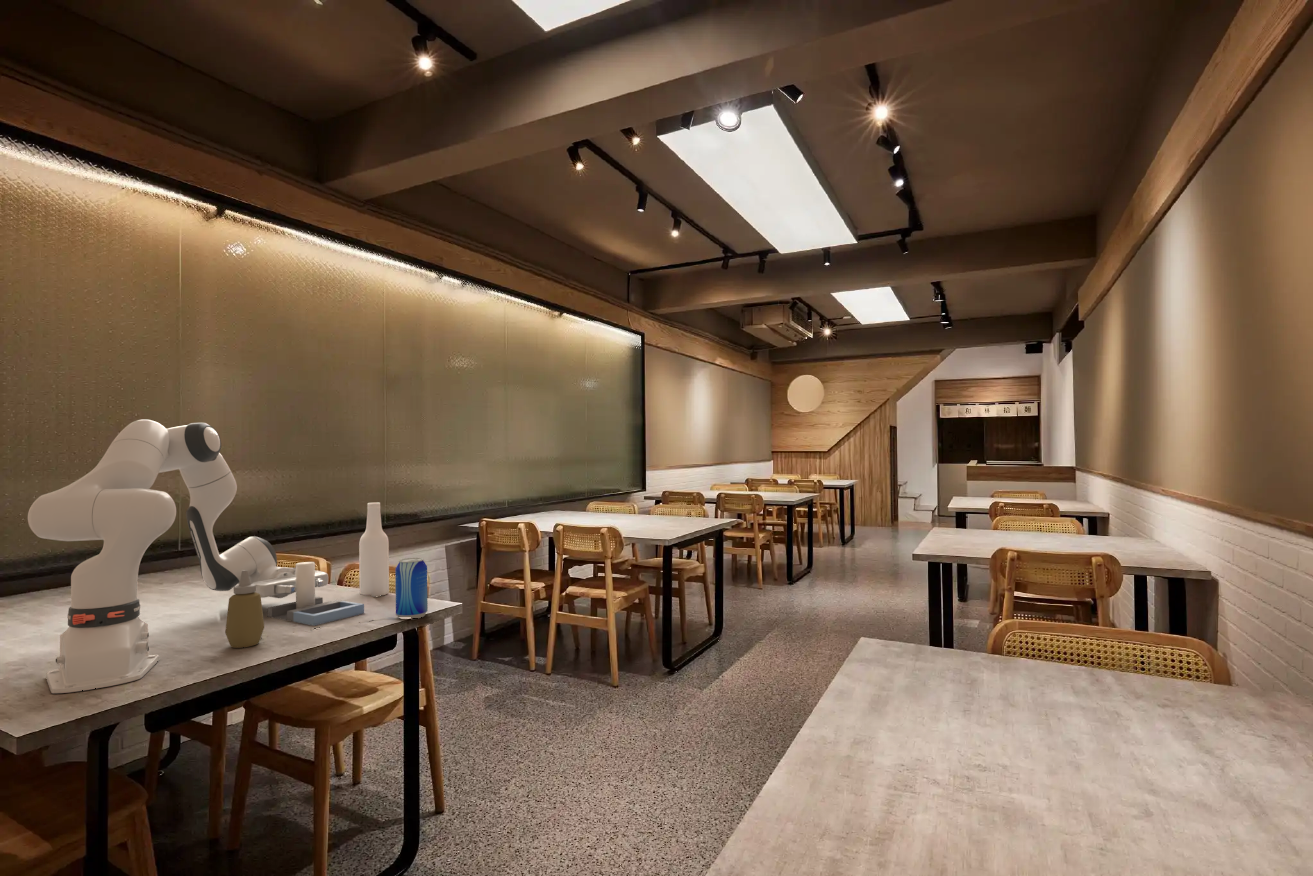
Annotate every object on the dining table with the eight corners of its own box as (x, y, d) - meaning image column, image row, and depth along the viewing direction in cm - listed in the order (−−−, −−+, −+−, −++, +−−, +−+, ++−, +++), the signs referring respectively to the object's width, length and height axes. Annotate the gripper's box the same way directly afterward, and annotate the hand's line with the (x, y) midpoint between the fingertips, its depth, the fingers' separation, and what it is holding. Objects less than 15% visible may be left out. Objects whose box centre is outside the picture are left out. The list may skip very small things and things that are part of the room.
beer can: (421, 620, 181) (420, 561, 181) (390, 620, 181) (390, 562, 181) (431, 612, 189) (431, 557, 190) (402, 613, 189) (402, 557, 190)
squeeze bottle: (271, 643, 161) (270, 569, 161) (235, 652, 154) (235, 574, 154) (254, 638, 165) (253, 566, 165) (218, 646, 158) (218, 571, 159)
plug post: (316, 613, 187) (316, 563, 187) (297, 615, 184) (296, 565, 184) (313, 609, 190) (313, 561, 191) (294, 612, 188) (294, 563, 188)
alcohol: (374, 598, 208) (373, 504, 209) (353, 597, 212) (352, 503, 212) (394, 593, 217) (394, 501, 217) (374, 591, 220) (373, 501, 220)
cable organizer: (365, 616, 186) (365, 604, 186) (314, 629, 173) (314, 616, 173) (317, 608, 197) (317, 596, 197) (266, 619, 184) (266, 607, 184)
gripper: (241, 577, 185) (270, 582, 178) (311, 566, 202) (339, 569, 196) (242, 600, 185) (270, 605, 178) (311, 586, 202) (339, 591, 195)
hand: (307, 586), depth 187 cm, fingers open, 7 cm apart
